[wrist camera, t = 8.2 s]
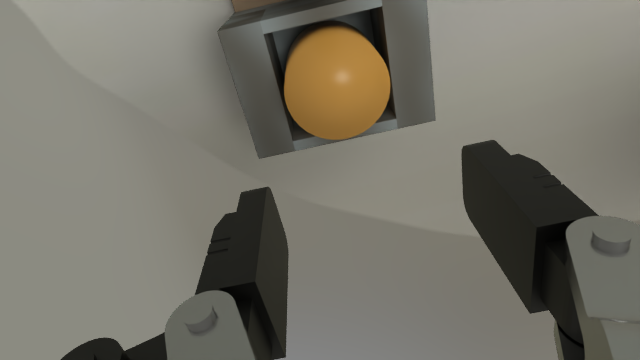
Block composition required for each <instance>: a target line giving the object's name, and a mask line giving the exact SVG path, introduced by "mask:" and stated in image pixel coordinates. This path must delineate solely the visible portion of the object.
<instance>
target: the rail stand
mask: <svg viewBox="0 0 640 360" xmlns="http://www.w3.org/2000/svg"><path fill="white" fill-rule="evenodd" d="M232 3H233V7H234V10H235V13H234V14H233V15H232V16H231V17H230V19H229V20H228V21H227V22H226V23H225V24H224V25H223V26H222V27H221V28H220V29H219V30H218V31H217V32H218V35H219V38H220V41H221V44H222V47H223V50H224V53H225V56H226V59H227V62H228V65H229V68H230V71H231V74H232V77H233V81H234V84H235V87H236V90H237V93H238V96H239V99H240V102H241V105H242V108H243V111H244V114H245V117H246V120H247V123H248V126H249V129H250V132H251V136H252V139H253V142H254V145H255V148H256V151H257V154H258V157H259V159H260V158H265V157H269V156H274V155H279V154H283V153H288V152H293V151H297V150H302V149H306V148H311V147H316V146H320V145H325V144H329V143H334V142H339V141H343V140H348V139H353V138H357V137H362V136H366V135H371V134H376V133H380V132H385V131H389V130H394V129H399V128H403V127H408V126H413V125H417V124H422V123H426V122H431V121H436V120H435V107H434V93H433V79H432V65H431V52H430V38H429V24H428V11H427V0H232ZM323 21H341V22H345V23H348V24H350V25H352V26H354V27H355V28H357V29H358V30H359V31H361V32H362V33H363V34H364V35H365V36H366V38H367V39H368V40H369V42H370V43H371V44H372V45H373V47H374V48H375V49H376V51H377V52H378V53H379V54H380V56H381V57H382V59H383V60H384V62H385V64H386V66H387V69H388V72H389V77H390V95H389V100H388V102H387V105H386V108H385V110H384V112H383V113H382V115H381V116H380V118H379V119H378V120H377V121H376V122H375V123H374V124H373V125H372V126H371V127H370V128H369V129H367V130H366V131H364V132H362V133H361V134H359V135H356V136H354V137H351V138H347V139H341V140H330V139H324V138H320V137H317V136H314V135H312V134H310V133H308V132H307V131H305V130H304V129H303V128H302V127H300V126H299V125H298V124H297V122H296V121H295V120H294V119H293V117H292V116H291V114H290V112H289V110H288V108H287V105H286V101H285V96H284V83H285V72H286V60H287V55H288V52H289V49H290V47H291V45H292V43H293V42H294V40H295V39H296V38H297V36H298V35H299V34H300V33H301V32H302V31H304V30H305V29H306V28H308V27H309V26H311V25H314V24H316V23H319V22H323Z"/></svg>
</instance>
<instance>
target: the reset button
mask: <svg viewBox="0 0 640 360" xmlns="http://www.w3.org/2000/svg"><path fill="white" fill-rule="evenodd" d="M389 95H390V77H389V72H388V69H387V66H386V64H385V62H384V60H383V59H382V57H381V56H380V54H379V53H378V52H377V51H376V49H375V48H374V47H373V45H372V44H371V43H370V42H369V40H368V39H367V38H366V36H365V35H364V34H363V33H362V32H361V31H359V30H358V29H357V28H355V27H354V26H352V25H350V24H348V23H345V22H341V21H323V22H319V23H316V24H314V25H311V26H309V27H308V28H306V29H305V30H304V31H302V32H301V33H300V34H299V35H298V36H297V38H296V39H295V40H294V42H293V43H292V45H291V47H290V49H289V52H288V55H287V60H286V72H285V83H284V96H285V101H286V105H287V108H288V110H289V112H290V114H291V116H292V117H293V119H294V120H295V121H296V122H297V124H298V125H299V126H300V127H302V128H303V129H304V130H305V131H307V132H308V133H310V134H312V135H314V136H317V137H320V138H324V139H330V140H341V139H347V138H351V137H354V136H356V135H359V134H361V133H362V132H364V131H366V130H367V129H369V128H370V127H371V126H372V125H373V124H374V123H375V122H376V121H377V120H378V119H379V118H380V116H381V115H382V113H383V112H384V110H385V108H386V105H387V102H388V100H389Z"/></svg>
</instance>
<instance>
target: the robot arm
mask: <svg viewBox="0 0 640 360" xmlns="http://www.w3.org/2000/svg"><path fill="white" fill-rule="evenodd" d="M462 181H463V200H464V205H465V209H466V212H467V214H468V217H469V219H470V220H471V222H472V223H473V225H474V227H475V228H476V230H477V231H478V233H479V234H480V236H481V238H482V239H483V241H484V242H485V244H486V245H487V247H488V249H489V250H490V252H491V253H492V255H493V256H494V258H495V260H496V261H497V263H498V264H499V266H500V267H501V269H502V271H503V272H504V274H505V275H506V277H507V278H508V280H509V282H510V283H511V285H512V286H513V288H514V289H515V291H516V292H517V294H518V295H519V297H520V299H521V300H522V302H523V303H524V305H525V307H526V308H527V310H528V311H529V313H536V312H541V311H546V310H549V311H550V313H551V314H552V315H553V317H554V318H555V326H554V337H555V343H556V348H557V353H558V359H559V360H640V225H639V224H636V223H634V222H632V221H628V220H625V219H621V218H617V217H610V216H599V215H597V214H596V213H595V212H594V211H593V210H592V209H591V208H590V207H588V206H587V205H586V204H585V203H584V202H583V201H582V200H581V199H579V198H578V197H577V196H576V195H575V194H574V193H573V192H572V191H570V190H569V189H568V188H567V187H566V186H565V185H564V184H563V185H561V182H560V181H559V180H558V179H557V178H556V177H555V176H554V175H551V174H550V172H549V171H548V170H547V169H546V168H545V167H543V166H542V165H541V164H540V163H539V162H538V161H535V160H533V159H530V158H528V157H525V156H523V155H520V154H516V155H510V154H509V153H508V152H507V151H506V150H504V149H503V148H502V147H501V146H500V145H499V144H498V143H497V142H496V141H495V140H490V141H485V142H480V143H475V144H471V145H466V146H463V148H462ZM207 253H208V255H207V256H206V259H205V262H204V266H203V269H202V273H201V276H200V279H199V283H198V286H197V290H196V293H195V296H193V297H191V298H189V299H188V300H186V301H185V302H183V303H182V304H181V305H180V306H179V307H178V308H177V309H176V310H175V311H174V312H173V313H172V315H171V316H170V318H169V319H168V321H167V324H166V328H165V332H164V333H163V334H160V335H159V336H156V337H155V338H152V339H150V340H148V341H146V342H143V343H141V344H139V345H137V346H135V347H132V348H130V349H128V350H126V351H124V350H123V349H122V347H121V346H120V344H119V343H118V342H117V341H116V340H114V339H111V338H98V339H94V340H91V341H88V342H86V343H84V344H82V345H80V346H78V347H76V348H75V349H73V350H72V351H71V352H69V353H68V354H66V355H65V356H64V357H63V358H62V359H61V360H274V359H279V358H284V357H286V326H287V288H288V246H287V239H286V235H285V231H284V228H283V225H282V222H281V219H280V216H279V213H278V210H277V206H276V203H275V200H274V197H273V194H272V192H271V189H270V188H269V187H264V188H259V189H254V190H250V191H245V192H241V194H240V199H239V203H238V207H237V212H234V213H229V214H225V216H224V217H223V218H222V219H221V220H220V222H219V223H218V224H217V225H216V226H215V228H214V231H213V235H212V238H211V244H210V245H209V248H208V252H207Z"/></svg>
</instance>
